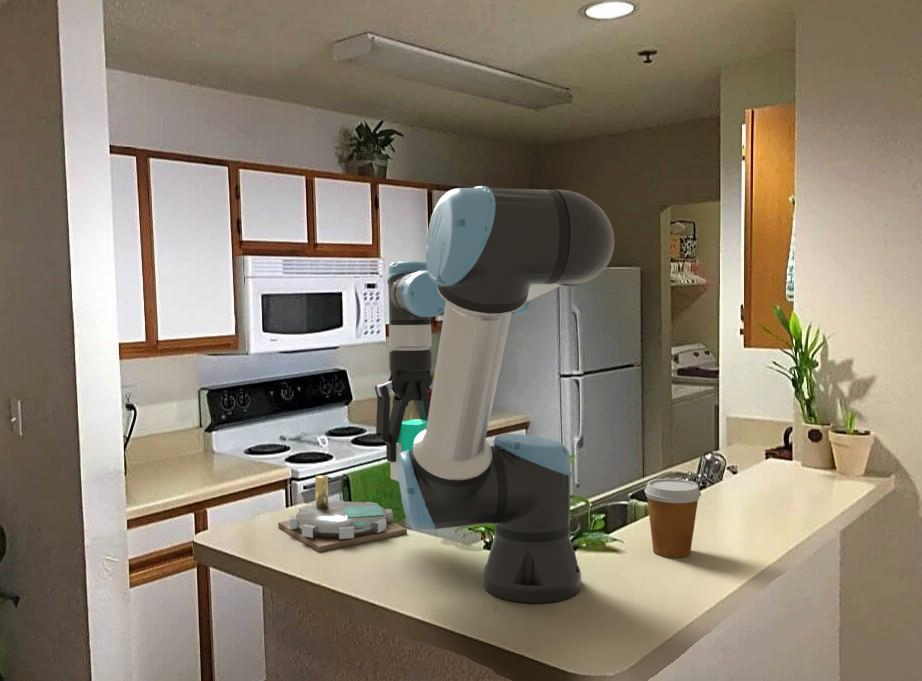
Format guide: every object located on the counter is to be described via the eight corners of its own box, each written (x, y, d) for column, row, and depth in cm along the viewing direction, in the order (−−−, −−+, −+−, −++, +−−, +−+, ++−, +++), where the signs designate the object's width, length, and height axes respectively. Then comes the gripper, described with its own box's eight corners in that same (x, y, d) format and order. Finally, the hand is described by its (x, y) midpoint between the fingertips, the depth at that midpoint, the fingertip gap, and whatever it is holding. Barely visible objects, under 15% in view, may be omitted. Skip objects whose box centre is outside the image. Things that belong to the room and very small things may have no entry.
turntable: (384, 507, 170) (384, 468, 169) (399, 535, 151) (399, 491, 151) (288, 513, 165) (287, 473, 165) (292, 543, 147) (291, 498, 146)
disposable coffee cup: (702, 563, 140) (703, 492, 139) (644, 559, 141) (644, 490, 141) (697, 545, 149) (698, 479, 148) (643, 542, 151) (644, 477, 150)
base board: (406, 533, 156) (406, 528, 156) (319, 552, 146) (319, 546, 146) (361, 512, 171) (361, 507, 171) (278, 527, 161) (278, 522, 160)
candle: (430, 476, 152) (430, 410, 152) (426, 483, 146) (425, 415, 146) (398, 475, 153) (397, 410, 152) (392, 482, 147) (391, 415, 146)
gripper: (442, 345, 157) (443, 467, 158) (353, 349, 146) (355, 480, 147) (465, 347, 151) (466, 473, 152) (374, 351, 140) (376, 488, 141)
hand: (412, 476), depth 150 cm, fingers closed on candle, 6 cm apart
